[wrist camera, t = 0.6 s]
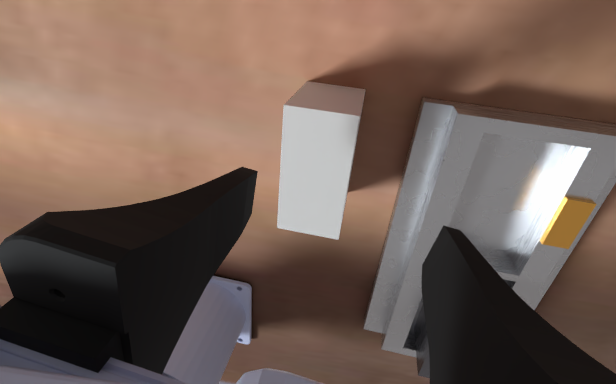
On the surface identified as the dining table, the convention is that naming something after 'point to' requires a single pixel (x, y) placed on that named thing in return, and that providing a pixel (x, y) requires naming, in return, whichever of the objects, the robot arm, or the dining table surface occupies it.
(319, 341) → the dining table surface
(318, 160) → the white rectangular block
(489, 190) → the slotted base
